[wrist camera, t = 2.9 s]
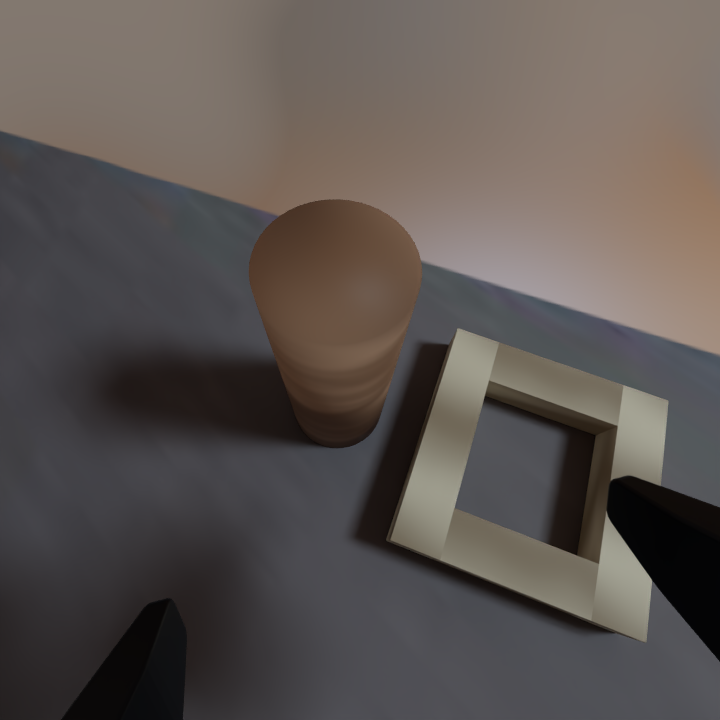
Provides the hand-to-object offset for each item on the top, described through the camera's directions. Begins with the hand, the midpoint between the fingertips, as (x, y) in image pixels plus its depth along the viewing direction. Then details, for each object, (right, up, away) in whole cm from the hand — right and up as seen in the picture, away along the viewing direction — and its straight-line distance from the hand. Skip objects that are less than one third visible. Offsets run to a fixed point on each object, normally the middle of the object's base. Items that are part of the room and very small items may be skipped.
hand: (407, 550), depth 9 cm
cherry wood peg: (-2, +1, +14) cm, 15 cm away
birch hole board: (+7, -2, +13) cm, 15 cm away
